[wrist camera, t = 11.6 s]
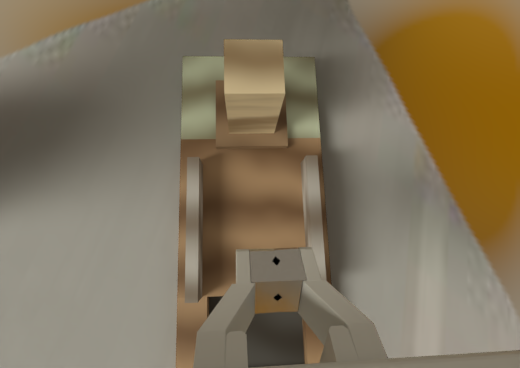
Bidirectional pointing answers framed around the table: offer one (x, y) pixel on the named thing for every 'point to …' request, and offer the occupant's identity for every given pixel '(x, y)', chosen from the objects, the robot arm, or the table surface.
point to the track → (247, 210)
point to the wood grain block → (251, 96)
